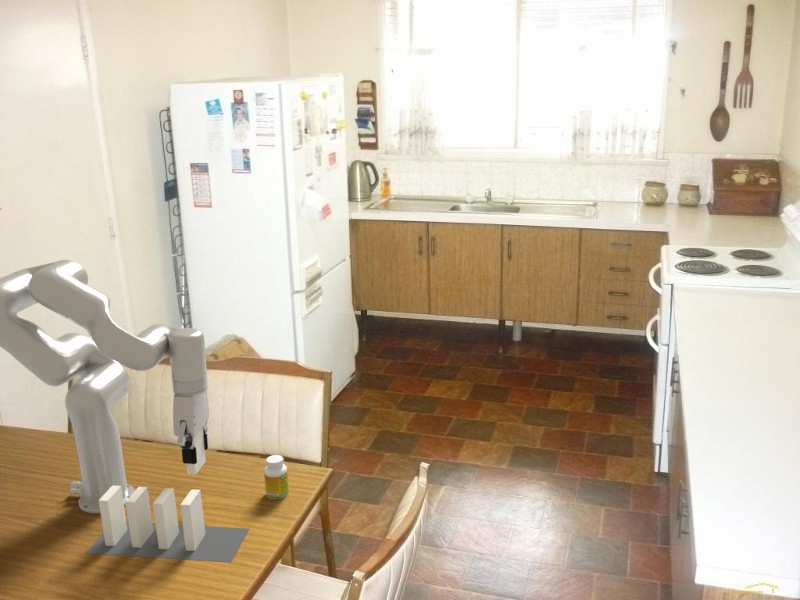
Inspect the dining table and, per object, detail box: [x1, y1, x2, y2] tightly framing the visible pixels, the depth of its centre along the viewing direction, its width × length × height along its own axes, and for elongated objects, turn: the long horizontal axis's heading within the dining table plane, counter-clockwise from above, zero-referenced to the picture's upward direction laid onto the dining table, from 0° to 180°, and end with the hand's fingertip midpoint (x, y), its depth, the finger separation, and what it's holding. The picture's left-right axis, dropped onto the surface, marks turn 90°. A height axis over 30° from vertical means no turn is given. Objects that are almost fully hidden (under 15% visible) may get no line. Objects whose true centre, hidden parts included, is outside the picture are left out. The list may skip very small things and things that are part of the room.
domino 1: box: [99, 485, 127, 546], centre depth 164 cm, size 2×6×11 cm, turn 173°
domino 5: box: [180, 489, 205, 551], centre depth 162 cm, size 2×6×11 cm, turn 173°
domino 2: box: [125, 486, 153, 548], centre depth 163 cm, size 2×6×11 cm, turn 173°
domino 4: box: [185, 428, 207, 475], centre depth 174 cm, size 2×6×11 cm, turn 173°
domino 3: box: [152, 487, 179, 549], centre depth 163 cm, size 2×6×11 cm, turn 173°
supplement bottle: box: [263, 454, 290, 500], centre depth 181 cm, size 5×5×10 cm
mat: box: [85, 521, 250, 563], centre depth 164 cm, size 32×12×1 cm, turn 83°
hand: (195, 455), depth 175 cm, fingers closed on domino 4, 5 cm apart
